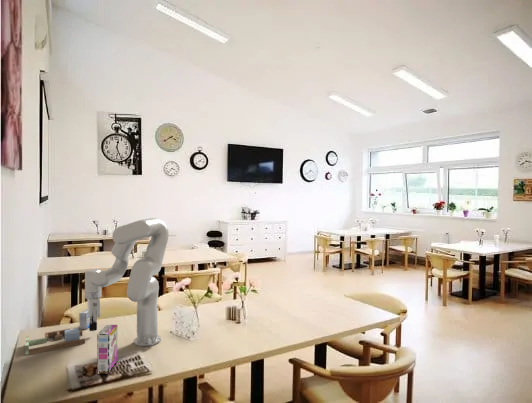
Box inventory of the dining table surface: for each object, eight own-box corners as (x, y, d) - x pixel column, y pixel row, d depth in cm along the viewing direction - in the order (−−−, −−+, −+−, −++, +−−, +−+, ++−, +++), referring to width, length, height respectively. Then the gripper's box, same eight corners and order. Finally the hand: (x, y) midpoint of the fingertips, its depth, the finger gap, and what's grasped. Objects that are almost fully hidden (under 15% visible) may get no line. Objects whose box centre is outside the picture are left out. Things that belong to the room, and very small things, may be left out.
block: (79, 342, 183) (79, 332, 183) (65, 344, 180) (65, 334, 180) (78, 338, 189) (78, 328, 188) (64, 340, 185) (64, 330, 185)
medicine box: (86, 329, 199) (86, 313, 199) (79, 329, 200) (78, 312, 200) (96, 324, 207) (96, 308, 207) (89, 323, 208) (88, 308, 208)
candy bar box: (109, 374, 151) (109, 334, 151) (97, 375, 151) (96, 334, 150) (118, 361, 162) (117, 324, 162) (106, 362, 162) (105, 324, 161)
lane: (85, 343, 182) (84, 335, 182) (25, 355, 169) (25, 346, 169) (80, 331, 197) (80, 323, 197) (26, 341, 184) (25, 333, 184)
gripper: (103, 297, 185) (103, 334, 185) (99, 289, 197) (98, 324, 198) (87, 299, 181) (86, 337, 181) (83, 291, 193) (83, 326, 194)
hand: (93, 330), depth 190 cm, fingers closed
